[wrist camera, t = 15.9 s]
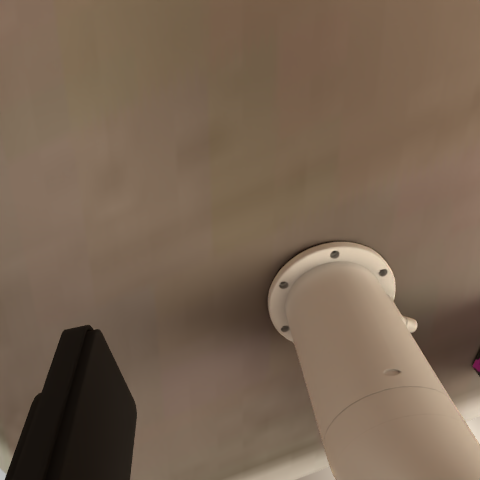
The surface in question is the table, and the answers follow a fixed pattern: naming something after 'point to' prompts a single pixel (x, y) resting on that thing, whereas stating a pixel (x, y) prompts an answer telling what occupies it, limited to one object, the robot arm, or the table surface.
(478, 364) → the candy bar box
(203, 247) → the table surface
